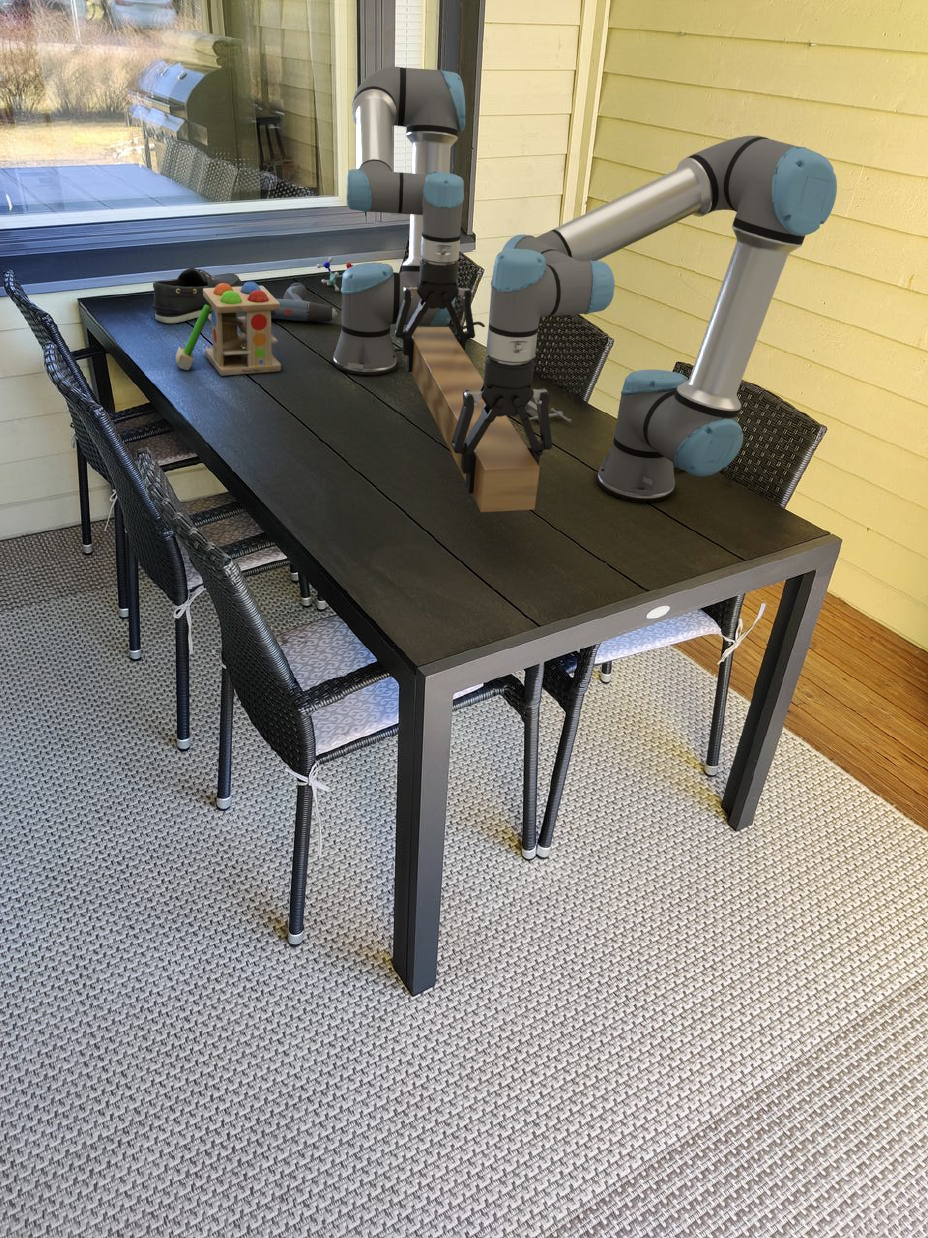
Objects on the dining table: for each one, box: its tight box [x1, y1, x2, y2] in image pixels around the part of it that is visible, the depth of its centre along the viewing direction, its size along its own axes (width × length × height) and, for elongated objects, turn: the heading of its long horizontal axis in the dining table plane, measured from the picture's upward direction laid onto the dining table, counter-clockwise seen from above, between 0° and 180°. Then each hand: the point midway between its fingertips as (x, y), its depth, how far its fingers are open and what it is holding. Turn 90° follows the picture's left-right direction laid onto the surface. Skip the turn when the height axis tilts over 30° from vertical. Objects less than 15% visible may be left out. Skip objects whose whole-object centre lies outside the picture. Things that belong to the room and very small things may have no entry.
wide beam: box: [405, 326, 541, 513], centre depth 182 cm, size 67×9×8 cm, turn 13°
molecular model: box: [316, 256, 358, 293], centre depth 287 cm, size 12×10×10 cm
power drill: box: [271, 282, 338, 322], centre depth 265 cm, size 5×19×20 cm
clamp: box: [524, 400, 572, 424], centre depth 219 cm, size 15×2×10 cm
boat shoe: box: [152, 267, 243, 324], centre depth 261 cm, size 13×33×10 cm, turn 147°
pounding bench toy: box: [174, 281, 282, 377], centre depth 225 cm, size 23×14×18 cm, turn 116°
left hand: (432, 369), depth 205 cm, fingers closed on wide beam, 9 cm apart
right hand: (497, 488), depth 163 cm, fingers closed on wide beam, 9 cm apart
